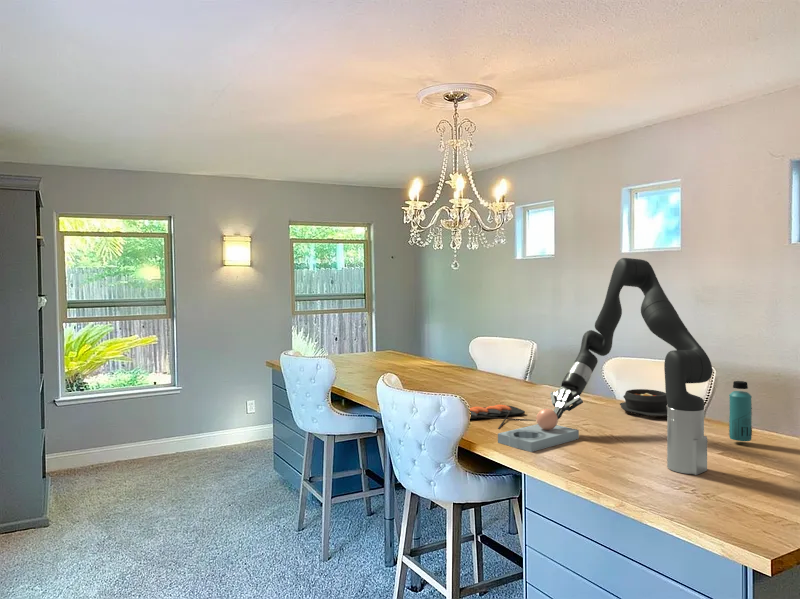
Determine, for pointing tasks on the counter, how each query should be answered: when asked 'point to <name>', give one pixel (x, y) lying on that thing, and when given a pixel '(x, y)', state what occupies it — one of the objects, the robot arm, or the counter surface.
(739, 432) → the beverage bottle
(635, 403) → the casserole
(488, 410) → the sushi plate
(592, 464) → the counter surface
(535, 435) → the board
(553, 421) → the ball
